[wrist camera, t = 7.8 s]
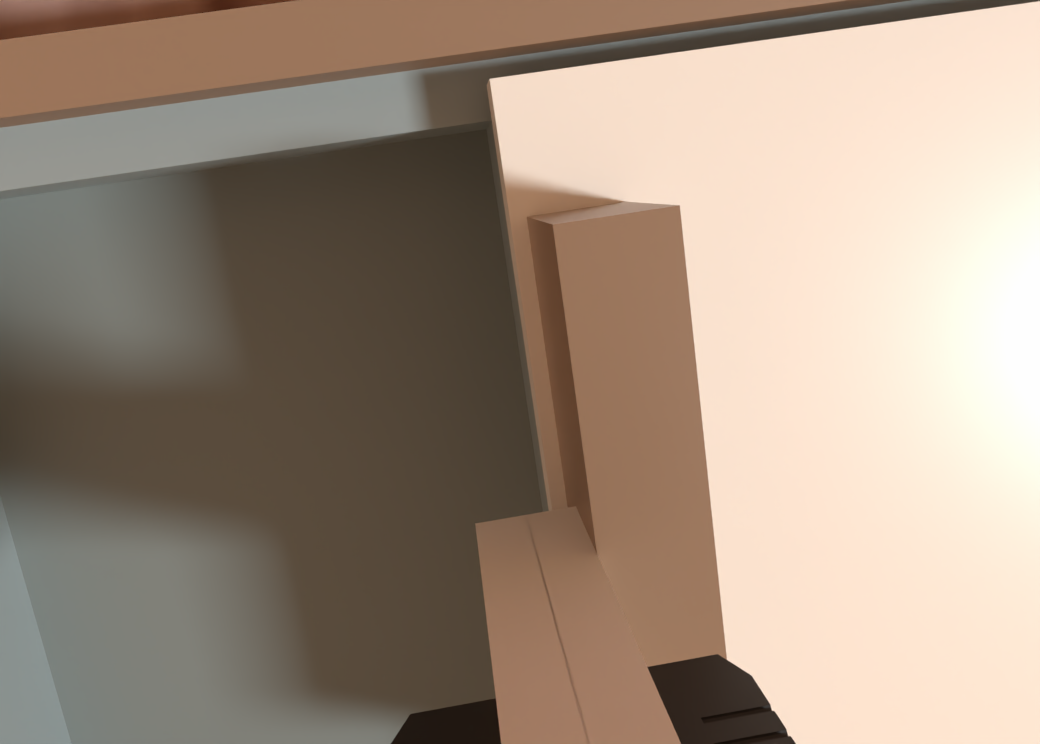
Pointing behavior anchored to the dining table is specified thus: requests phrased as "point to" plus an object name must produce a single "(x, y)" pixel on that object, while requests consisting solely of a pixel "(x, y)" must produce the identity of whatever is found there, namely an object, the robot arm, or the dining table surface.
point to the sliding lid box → (277, 354)
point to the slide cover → (800, 359)
